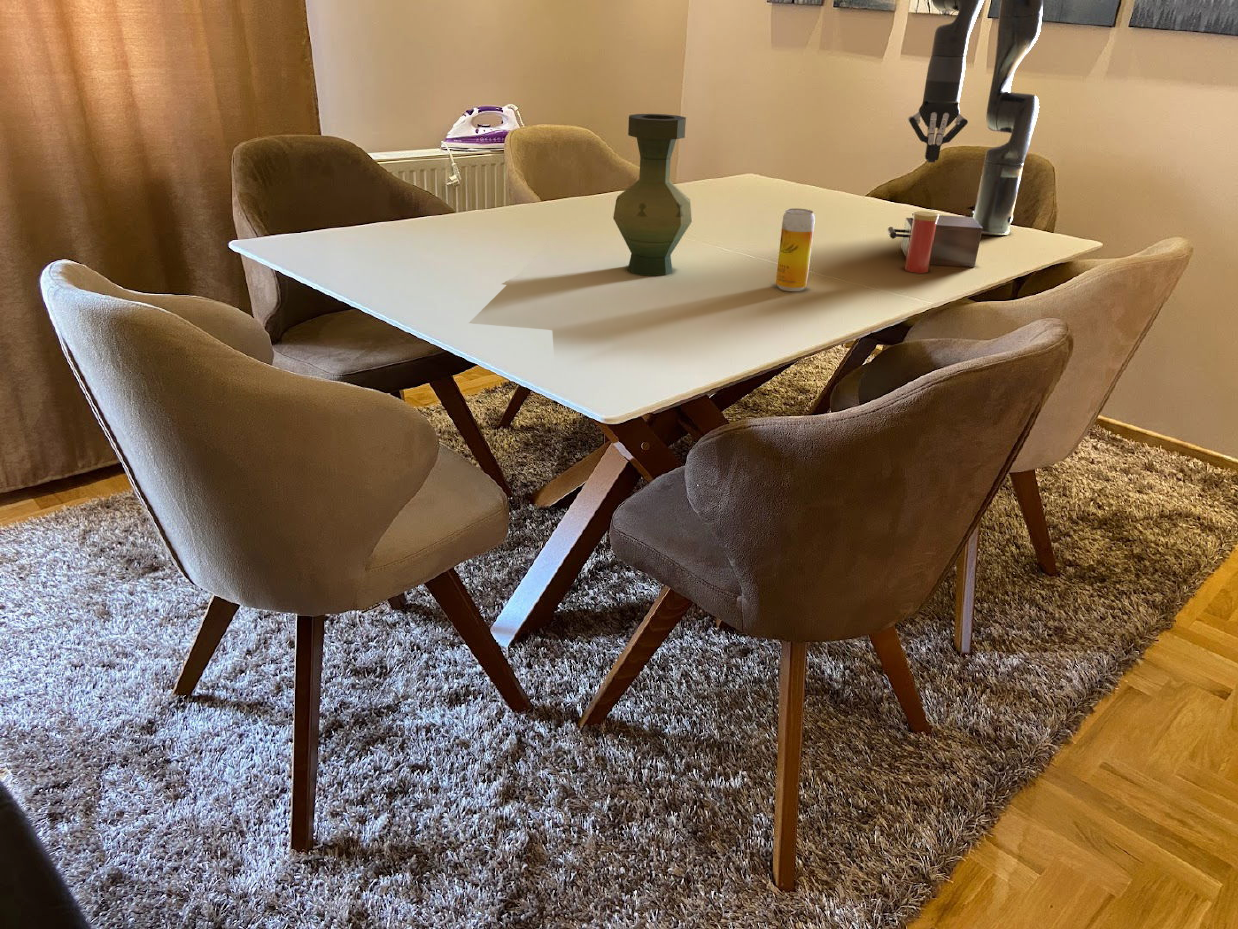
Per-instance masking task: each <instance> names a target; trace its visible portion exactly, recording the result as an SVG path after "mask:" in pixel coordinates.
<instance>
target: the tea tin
mask: <svg viewBox="0 0 1238 929" xmlns="http://www.w3.org/2000/svg"><path fill="white" fill-rule="evenodd" d="M913 214H914V216H913V218H914V219H913V224H912V230H911V236H910V242H909V248H908V253H907V258H906V260H905V266H904V270H905V271H907V272H910V273H915V274H925V273H928V272H929V267H930V264H929V262H930V257H931V251H932V246H933V240H934V235H935V229H936V224H937V220H938V216H939V215H940V214H938V213H936V212H931V211H925V210H924V211H921V210H920V211H914V212H913Z"/></svg>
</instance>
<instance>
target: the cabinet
mask: <svg viewBox="0 0 1238 929" xmlns="http://www.w3.org/2000/svg"><path fill="white" fill-rule="evenodd" d="M938 215H939V216H938V220H937V224H936V229H935V235H934V240H933V246H932V251H931V257H930V262H929V265H935V266H936V265H938V266H950V267H966V268H975V267H976V262H977V258H978V252H979V248H980V242H981V238H982V235H983V234H982V229H983V228H982V227H981V226H980V225H979V224H978V222H977V221H976V220H975V219H974V218H973V217H972V216H958V215H957V216H955V215H943V214H938ZM913 216H914V213H911V214H910V218H911V219H912V220H913V219H914V218H913Z"/></svg>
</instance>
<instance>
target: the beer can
mask: <svg viewBox="0 0 1238 929" xmlns="http://www.w3.org/2000/svg"><path fill="white" fill-rule="evenodd" d="M815 222H816V216H815V212H814V211H813V210H811V209H807V208H799V207H798V208H796V207H795V208H793V207H792V208H787V209H785V212H784V214H783V216H782V222H781V230H780V231H781V233H780V239H779V240H780V242H779V249H778V259H777V268H776V275H775V276H776V278H775V284H776V286H777V287H778V289H779V290H781V291H786V292H802V291H803V290H804V289H805V288H806V287H808V286H807V285H808V280H809V279H808V277H809V270H810V262H811V254H812V246H813V240H814V230H815Z"/></svg>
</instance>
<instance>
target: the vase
mask: <svg viewBox="0 0 1238 929" xmlns="http://www.w3.org/2000/svg"><path fill="white" fill-rule="evenodd" d="M686 121H687V117H686V116H682V115H676V114H666V113H665V114H663V113H635V114H629V115H628V129H627V130H628V131H627V136H629V137H632V138H635V139H636V141H637V147H638V148H637V149H638V153H639V176H638V177H639V178H638V180H636V181H635V182H634V183H633V184H632V185H630V186H629V187H628V188H626V189H625V190H624V191H622V192H621V193H620V194H619V195H617V197H616V200H615V204H614V211H613V215H612V219H613V221H614V222H615V225H616V226H617V228H618V231H619V232H620V234H621V236H622V238H623V241H624V242H625V244H626V246H627V248H628V250H629V252H630V258H629V263H628V268H627V271H628V272H630V273H632V274H634V275H635V274H636V275H641V276H651V277H659V276H666V275H670V274H672V273H673V264H672V254H673V252H674V251H675V249H676V248H677V245H678V244H679V242H680V241H681V240H682V237H683V236H684V235H685V233H686V232H687V230H688V229H689V227H690V225H691V224H692V223H693V222H692V217H693V216H692V207H691V206H692V204H691V203H692V202H691V199H690V198H689V197H688V196H687V195H686V194H685V193H684V192H683V191H682V190H680V189H679V187H677V186H676V185H675V184H674V183H673V182H672V181H671V163H672V162H671V161H672V154H673V153H674V149H675V145H676V143H677V142H676V141H677V140H679V139H685V138H686V124H687V122H686Z"/></svg>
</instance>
